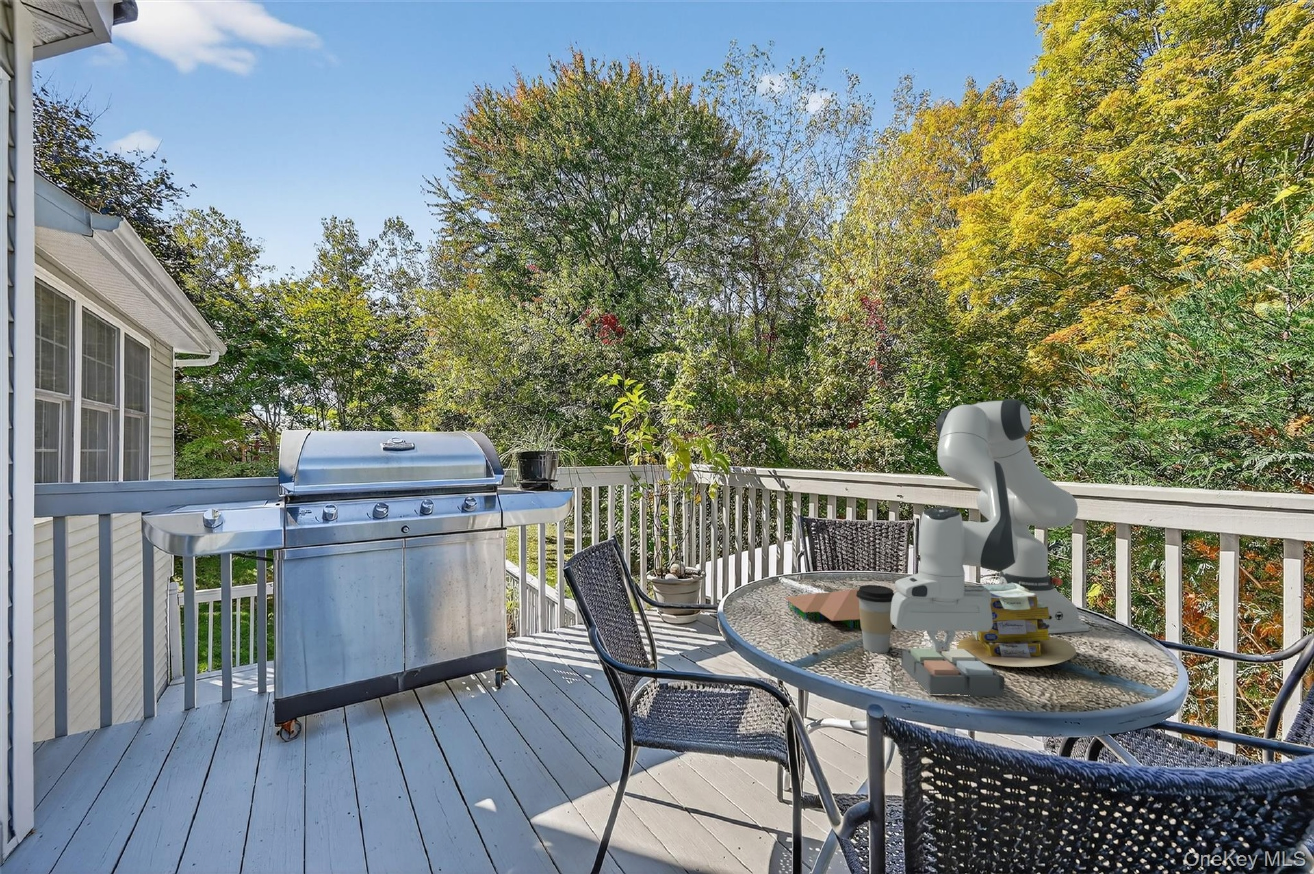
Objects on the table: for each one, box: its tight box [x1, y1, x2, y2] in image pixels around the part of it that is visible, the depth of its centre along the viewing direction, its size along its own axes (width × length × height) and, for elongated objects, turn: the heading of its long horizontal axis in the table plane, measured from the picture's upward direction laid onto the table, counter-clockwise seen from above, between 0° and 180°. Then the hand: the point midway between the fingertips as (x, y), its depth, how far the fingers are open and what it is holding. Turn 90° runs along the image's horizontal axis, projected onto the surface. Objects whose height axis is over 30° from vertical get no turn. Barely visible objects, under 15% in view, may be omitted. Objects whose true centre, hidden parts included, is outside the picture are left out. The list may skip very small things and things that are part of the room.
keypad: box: [900, 648, 1005, 697], centre depth 127 cm, size 15×15×4 cm
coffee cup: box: [856, 584, 895, 654], centre depth 146 cm, size 9×9×15 cm
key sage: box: [910, 647, 943, 661], centre depth 131 cm, size 5×5×2 cm
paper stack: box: [956, 582, 1077, 668], centre depth 142 cm, size 25×25×17 cm
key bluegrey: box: [957, 661, 993, 675], centre depth 124 cm, size 5×5×2 cm
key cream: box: [942, 648, 975, 662], centre depth 131 cm, size 5×5×2 cm
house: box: [784, 588, 861, 629], centre depth 172 cm, size 23×33×8 cm
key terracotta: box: [924, 660, 959, 675], centre depth 124 cm, size 5×5×2 cm
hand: (940, 650), depth 124 cm, fingers closed
